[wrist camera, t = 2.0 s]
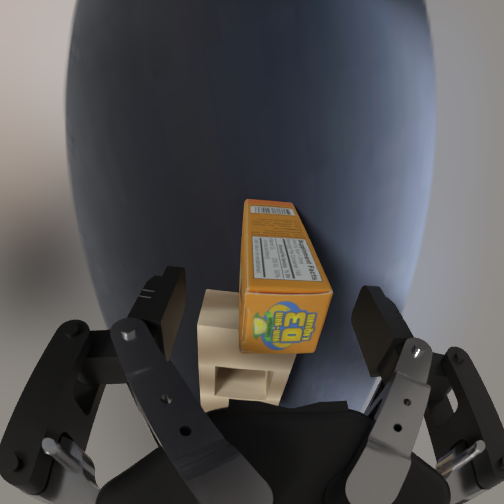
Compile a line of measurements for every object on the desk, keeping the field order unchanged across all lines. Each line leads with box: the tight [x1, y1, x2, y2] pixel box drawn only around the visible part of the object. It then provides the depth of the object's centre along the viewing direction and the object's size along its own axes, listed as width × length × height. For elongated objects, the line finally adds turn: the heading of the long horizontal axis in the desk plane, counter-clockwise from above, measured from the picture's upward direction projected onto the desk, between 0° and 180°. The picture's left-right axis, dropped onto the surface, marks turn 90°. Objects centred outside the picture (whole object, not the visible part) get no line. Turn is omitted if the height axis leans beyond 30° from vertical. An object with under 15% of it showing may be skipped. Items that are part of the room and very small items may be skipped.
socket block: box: [197, 289, 296, 413], centre depth 23 cm, size 13×7×4 cm, turn 174°
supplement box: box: [239, 199, 333, 354], centre depth 14 cm, size 3×3×10 cm
